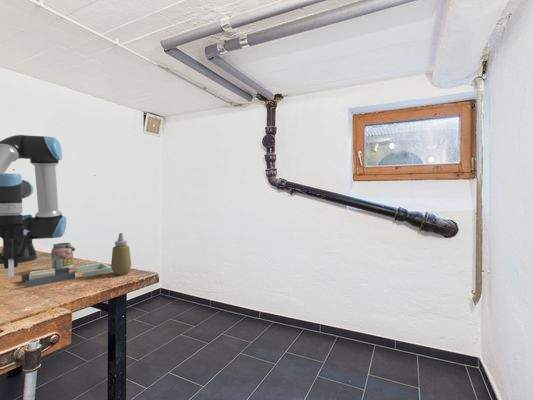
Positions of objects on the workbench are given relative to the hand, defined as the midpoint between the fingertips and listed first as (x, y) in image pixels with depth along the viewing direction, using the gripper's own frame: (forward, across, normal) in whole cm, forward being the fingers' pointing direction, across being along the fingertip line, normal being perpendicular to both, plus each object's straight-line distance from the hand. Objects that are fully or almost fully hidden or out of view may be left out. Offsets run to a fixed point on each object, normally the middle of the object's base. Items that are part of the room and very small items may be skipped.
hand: (10, 276), depth 110 cm
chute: (+4, +12, 0) cm, 12 cm away
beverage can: (+4, +20, +14) cm, 25 cm away
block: (+4, +10, 0) cm, 11 cm away
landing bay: (+4, +28, 0) cm, 28 cm away
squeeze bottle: (+4, +36, -12) cm, 38 cm away
